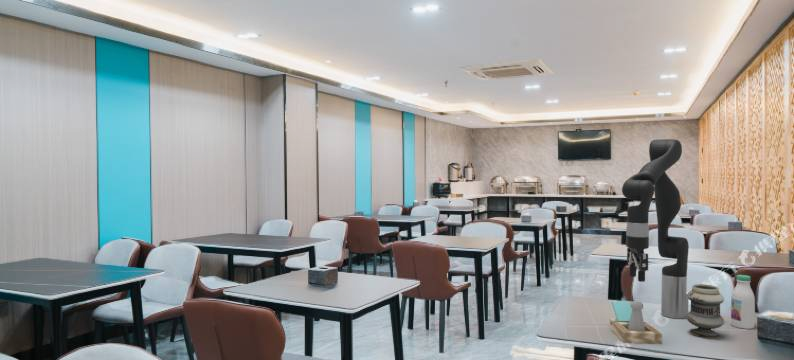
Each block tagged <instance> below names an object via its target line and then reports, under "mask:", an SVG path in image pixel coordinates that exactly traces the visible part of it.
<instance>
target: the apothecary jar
mask: <svg viewBox="0 0 794 360" xmlns="http://www.w3.org/2000/svg"><path fill="white" fill-rule="evenodd" d="M719 288H720V287H718V286H715V285H711V284H705V283H703V284H700V283H699V284H698V283H697V284H693V285H692V288H691V290H689V291H688V293H686V294H687V296H688V298H689V299H688V301H690V309H689V310H690V311H688V314H687V318H686V320H687V322H689V323H690V324H691V325H693V326H695V328H691V329H690V330H689V333H690V334H691V335H693V336H694V337H695V336H696V337H699V338H705V339H719V338H720V337H721V335H720V333H718V332H716V331H715V329H718V328H721V327H722V326H723V325H725V320H724V317H723V316H722V315H721V304H723V303H724V301H725V297H724V296H723V294H722V293H720V290H719Z"/></svg>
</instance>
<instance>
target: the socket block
mask: <svg viewBox="0 0 794 360" xmlns="http://www.w3.org/2000/svg"><path fill="white" fill-rule="evenodd" d="M643 322H644V327H645V331H629V330H628V326H629V322H617V319H616V318H609V325H610V326H611V331H612V333H613V334H614V335H616V336H617V337H618V339H620V341H622V343H626V344H627V343H628V344H656V345H657V344H659V345H662V344H663V333H661V331H659V330H658V329H656V328H655V327H654V326H652V325H651V324H650V323H649V322H646V321H643Z"/></svg>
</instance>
